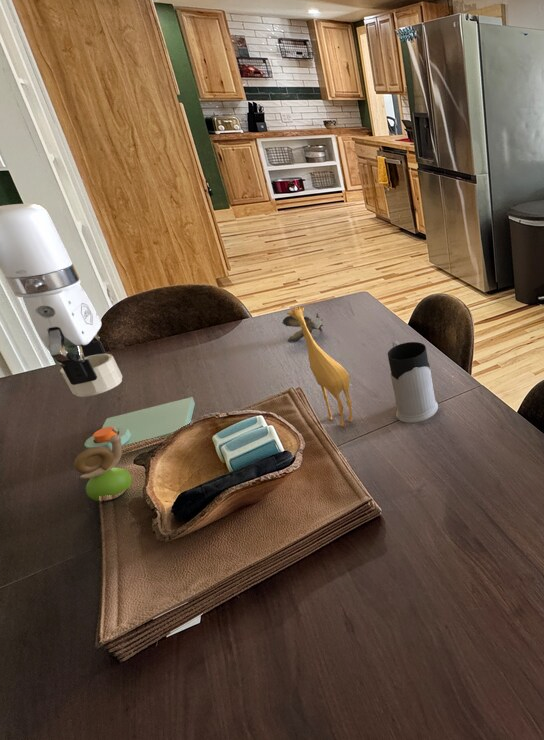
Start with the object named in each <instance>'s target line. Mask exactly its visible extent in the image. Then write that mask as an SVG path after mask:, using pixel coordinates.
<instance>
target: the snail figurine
mask: <svg viewBox="0 0 544 740" xmlns="http://www.w3.org/2000/svg"><path fill="white" fill-rule="evenodd" d="M112 431H113V432H114V433H116V435H113V436H112V437H111V438H110V439H109V441H110V443H111V444H112V451H111V450H110V449H108V448H106V447H94V448H90V449H87V450H86V449H85V450H84V451H82V452H81V453H78V455H77V456H76V457H75V459H74V460H73V468H74V469H75V471H76V472H78V473H81V475H80V476H79V478H80V479H86V480H88V481H87V483H86V485H85V493H86V495H87V497H88V498H90V499H91V500H93V501H95V502H100V501H99V496H101V495H102V496H105V495H115V494H118V493H121V492H122V491H124V490H125V489H127V488H128V487H129V486H130V487H131V485H132V482H133V480H132V479H133V478H132V475H131V473H130V472H129V471H128V470H127V469H125V468H123V467H117V466H116V465H117V464H119V462H120V460H121V458H122V456H123V455H122V447H121V438H120V437H121V436H120V435H118V433H117V432H118V430H116V428H113V429H112ZM130 484H131V485H130ZM130 487H129V488H130Z"/></svg>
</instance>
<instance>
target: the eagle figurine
mask: <svg viewBox="0 0 544 740" xmlns="http://www.w3.org/2000/svg"><path fill="white" fill-rule="evenodd" d="M303 317H304V320H305V323H306V326H307V328H308V330H309V332H310V334H312V333H313V330H319V331H320V332H323V328H322V327H324V325H323V324H322V321H323V320H324V319H323V318H322V319H321V318H320V315H319V312H317V313H316V317H315V318H314V320H313V321H312V319H311V318H310V317H308V316H303ZM281 323H282V325H285V327H292V328H293V327H295V328H299V327H300V328H301V326H300V324H299V322H298V320H297V319H295V318H294V317H292V316H290V315H288V316H286V317H285V316H284V318H283V319H282V322H281ZM302 338H305V337H304V334H303V331H302V329H300V330H298V331H296V332H295V333H294V334H292V335H290V336H289V338H287V340H286V341H287V342H289V343H296V342H298V341H300V340H301V339H302Z"/></svg>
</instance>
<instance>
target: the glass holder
mask: <svg viewBox="0 0 544 740" xmlns="http://www.w3.org/2000/svg"><path fill="white" fill-rule="evenodd" d="M387 359H388V364H389V369H390V379H391V384H392V390H393V394H394V400H395V403H396V413H395V415H396V416H395V417H396V418H397V419H398V421H400V422H402V423H406V424H415V423H419V422H423V421H426V420H427V419H429V418H432V417H433V416H434V415H435V414H436V413H437V412H438V409H439V404H438V402H437V400H436V397H435V392H434V390H435V389H434V384H433V379H432V373H431V365H430V363H429V357H428V352H427V346H426V345H425V344H424V343H422V342H419V341H409V342H403V343H400V344H399V342H398V341H397V340H395V341H393V342H392V347H391V348H390V349H389V350H388V352H387Z"/></svg>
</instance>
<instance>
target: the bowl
mask: <svg viewBox="0 0 544 740" xmlns="http://www.w3.org/2000/svg"><path fill="white" fill-rule="evenodd" d="M84 358H85V360H86V359H89V361H90V363H91V365H92V367H93V369H94V371H95V373H96V375H97V379H96V380H94V381H90V382H85V383H81V384H76V385H72V384H71V383H70V381H69V379H68V377H67V376H66V374H65V372H64V370H63V368H62V367H61V369H59V372H60V373H61V375H62V378H63V379H64V381H65V383H66V385H67V387H68V389H69V390H70V392H71V394H72V395H74V396H75V397H79V398H84V397H93V396H96V395H99V394H102V393H106V392H108V391H110V390H113V389H114V388H116V387H118V386H119V385H120V384H121V383H122V382H123V374H122V373H121V370H120V368H119V366H118V364H117V362H116V360H115V357H114V356H113V355H112V353H106V354H96V355H91V356H87V357H84Z"/></svg>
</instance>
